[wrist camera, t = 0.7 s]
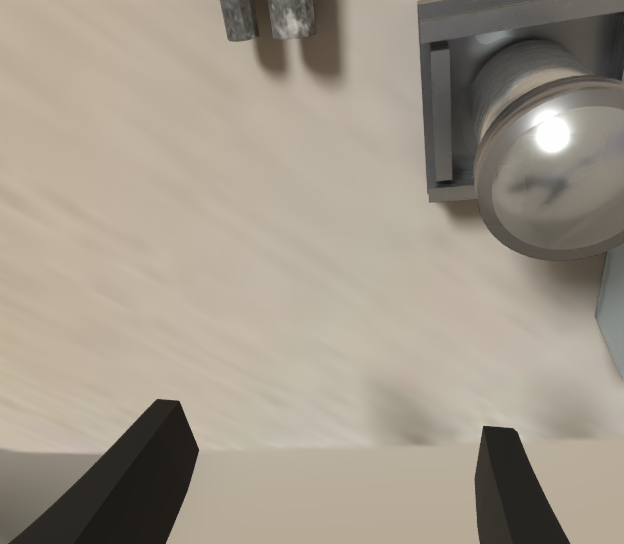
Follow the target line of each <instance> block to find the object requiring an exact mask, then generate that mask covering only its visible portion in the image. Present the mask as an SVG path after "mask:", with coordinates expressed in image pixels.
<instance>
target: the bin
mask: <svg viewBox="0 0 624 544" xmlns="http://www.w3.org/2000/svg"><path fill="white" fill-rule="evenodd" d="M595 318H596V320H597V322H598V325H599V327H600V329H601V331H602V334H603V336H604V338H605V341H606V343H607V345H608V347H609V350H610V352H611V354H612V357H613V359H614V361H615V364H616V366H617V368H618V370H619V373H620V375H621V377H622V380H623V381H624V244H622V245H620V246H618V247H616V248H614V249H611V250H609V251H607V256H606V261H605V266H604V272H603V277H602V282H601V287H600V292H599V297H598V302H597V308H596V313H595Z"/></svg>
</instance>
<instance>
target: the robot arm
mask: <svg viewBox="0 0 624 544" xmlns="http://www.w3.org/2000/svg"><path fill="white" fill-rule="evenodd" d="M198 452H199V448H198V446H197V443H196V441H195V438H194V436H193V433H192V431H191V429H190V426H189V424H188V421H187V419H186V416H185V414H184V411H183V409H182V406H181V404H180V401H175V400H163V399H157V400H156V401H155V402H154V403H153V404H152V405H151V406H150V407H149V408H148V409H147V410H146V411H145V412H144V413H143V414H142V415H141V416H140V417H139V418H138V419H137V420H136V421H135V422H134V423H133V425H132V426H131V427H130V428H129V429H128V430H127V431H126V432H125V433H124V434H123V435H122V436H121V437H120V438H119V439H118V440H117V441H116V442H115V444H114V445H113V446H112V447H111V448H110V449H109V450H108V451H107V452H106V453H105V454H104V455H103V456H102V457H101V458H100V459H99V460H98V461H97V462H96V463H95V464H94V465H93V466H92V467H91V468H90V469H89V470H88V471H87V472H86V473H85V474H84V475H83V476H82V477H81V478H80V479H79V480H78V481H77V482H76V483H75V484H74V485H73V486H72V487H71V488H70V489H69V490H68V491H67V492H66V493H65V494H63V496H61V497H60V498H59V499H58V500H57V501H56V502H55V503H54V504H53V505H52V506H51V507H50V508H49V509H48V510H46V511H45V512H44V513H43V514H42V515H41V516H40V517H39V518H38V519H36V520H35V521H34V522H33V523H32V524H31V525H30V526H29V527H27V528H26V529H25V530H24V531H23V532H22V533H20V534H19V535H18V536H17V537H16V538H15V539H13V540H12V541H11V542H10V543H9V544H166V542H167V539H168V537H169V535H170V532H171V530H172V527H173V525H174V523H175V520H176V518H177V515H178V513H179V511H180V508H181V505H182V503H183V501H184V498H185V496H186V493H187V490H188V487H189V484H190V481H191V477H192V474H193V471H194V467H195V463H196V459H197V456H198ZM475 494H476V511H477V527H478V533H479V540H480V544H570V542H569V540H568V538H567V537H566V535H565V533H564V531H563V529H562V527H561V525H560V524H559V522H558V520H557V518H556V516H555V514H554V512H553V510H552V508H551V507H550V504H549V503H548V500H547V499H546V496H545V494H544V492H543V491H542V488H541V486H540V484H539V482H538V480H537V478H536V476H535V473H534V471H533V469H532V467H531V465H530V462H529V460H528V458H527V455H526V453H525V450H524V448H523V445H522V443H521V440H520V438H519V435H518V432H517V431H516V430H514V429H513V428H503V427H491V426H483V430H482V437H481V443H480V449H479V455H478V461H477V468H476V473H475Z"/></svg>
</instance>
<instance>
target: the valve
mask: <svg viewBox="0 0 624 544" xmlns="http://www.w3.org/2000/svg"><path fill="white" fill-rule="evenodd" d="M220 3H221V8H222V13H223V18H224V22H225V27H226V32H227V37H228V40H229V41H235V42H238V41H246V40H250V39H254V38H256V37H258V36H259V31H258V25H257V19H256V13H255V7H254V1H253V0H220ZM268 6H269V13H270V20H271V26H272V33H273V38H275V39H298V38H304V37H309V36H312V35H314V34H316V28H315V17H314V7H313V0H268Z"/></svg>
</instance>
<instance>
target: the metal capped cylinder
mask: <svg viewBox="0 0 624 544" xmlns="http://www.w3.org/2000/svg"><path fill="white" fill-rule="evenodd" d="M469 111H470V116H471V120H472V124H473V128H474V131H475V135H476V139H477V143H478V149H477V152H476V156H475V160H474V168H473V179H474V186H475V191H476V196H477V201H478V206H479V210H480V214H481V216H482V218H483V221H484V223H485V224H486V226H487V228H488V229H489V231H490V232H491V233H492V234H493V235H494V237H495V238H497V239H498V240H499V241H500V242H501V243H502V244H504V245H505V246H507V247H508V248H510V249H512V250H514V251H516V252H518V253H520V254H523V255H526V256H529V257H532V258H537V259H542V260H552V261H565V260H576V259H581V258H587V257H591V256H594V255H598V254H601V253H604V252H606V251H609V250H611V249H614V248H616V247H618V246H620V245H622V244H624V82H623V81H620V80H617V79H614V78H610V77H605V76H597V75H595V74H594V73H592V72H591V71H590V70H589V69H588V68H587V67H586V66H585V65H584V64H583V63H582V62H580V61H579V60H578V59H577V58H576V57H575V56H574V55H573V54H572V53H571V52H569V51H568V50H567V49H566V48H564V47H563V46H561V45H559V44H557V43H554V42H551V41H546V40H527V41H523V42H519V43H516V44H513V45H511V46H509V47H507V48H505V49H503V50H501V51H500V52H498V53H497V54H496V55H494V56H493V57H492V58H491V59H490V60H489V61H488V62H487V63H486V64H485V65H484V66H483V68H482V69H481V70H480V72H479V73H478V75H477V77H476V79H475V81H474V83H473V86H472V88H471V92H470V97H469Z"/></svg>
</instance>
